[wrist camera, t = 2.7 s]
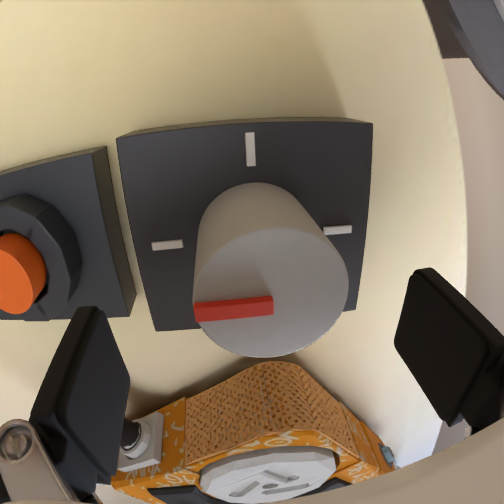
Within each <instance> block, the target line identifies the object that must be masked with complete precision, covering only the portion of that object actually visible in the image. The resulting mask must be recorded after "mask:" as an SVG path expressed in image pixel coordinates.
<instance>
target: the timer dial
mask: <svg viewBox="0 0 504 504" xmlns="http://www.w3.org/2000/svg"><path fill="white" fill-rule="evenodd" d="M348 287H349V281H348V273H347V269H346V266H345V263H344V261H343V259H342V257H341V256H340V254H339V253H338V251H337V250H336V248H335V247H334V246H333V244H332V243H331V242H330V241H329V239H328V238H327V237H326V235H325V234H324V233H323V232H322V230H321V229H320V228H319V226H318V225H317V224H316V223H315V221H314V220H313V219H312V217H311V216H310V215H309V214H308V212H307V211H306V210H305V209H304V207H303V206H302V205H301V204H300V202H299V201H298V200H297V199H296V198H295V197H294V196H293V195H292V194H290V193H289V192H288V191H286V190H284V189H282V188H280V187H278V186H275V185H272V184H268V183H260V182H256V183H245V184H241V185H237V186H235V187H232V188H230V189H228V190H226V191H225V192H223V193H221V194H220V195H219V196H218V197H216V198H215V199H214V200H213V201H212V202H211V203H210V205H209V206H208V207H207V209H206V210H205V212H204V214H203V216H202V218H201V221H200V225H199V229H198V239H197V250H196V261H195V272H194V285H193V299H192V300H193V309H194V315H195V320H196V322H198V323H199V325H200V327H201V328H202V330H203V331H204V332H205V334H206V335H207V336H208V337H209V338H210V339H211V340H212V341H214V342H215V343H216V344H217V345H219V346H221V347H222V348H224V349H226V350H228V351H230V352H233V353H236V354H238V355H243V356H247V357H255V358H269V357H277V356H283V355H287V354H290V353H293V352H296V351H299V350H301V349H303V348H305V347H307V346H309V345H311V344H312V343H314V342H315V341H317V340H318V339H319V338H321V337H322V336H323V335H324V334H325V333H326V332H327V331H328V330H330V328H331V327H332V326H333V325H334V324H335V322H336V321H337V319H338V318H339V316H340V315H341V313H342V311H343V309H344V306H345V303H346V300H347V295H348Z"/></svg>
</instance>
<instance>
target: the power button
mask: <svg viewBox="0 0 504 504" xmlns="http://www.w3.org/2000/svg"><path fill="white" fill-rule="evenodd" d="M46 279H47V271H46V266H45V262H44V260H43V257H42V255H41V253H40V252H39V250H38V249H37V248H36V247H35V245H34V244H33V243H32V242H31V241H30V240H29V239H27V238H26V237H24V236H22V235H20V234H17V233H6V234H3V235H1V236H0V309H2V310H3V311H5V312H8V313H12V314H21V313H24V312H26V311H27V310H28V309H29V308H30V306H31V305H32V304H33V302H34V301H35V299H36V298H37V296H38V295H39V293H40V292H41V291H42V289H43V288H44V286H45V283H46Z"/></svg>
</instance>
